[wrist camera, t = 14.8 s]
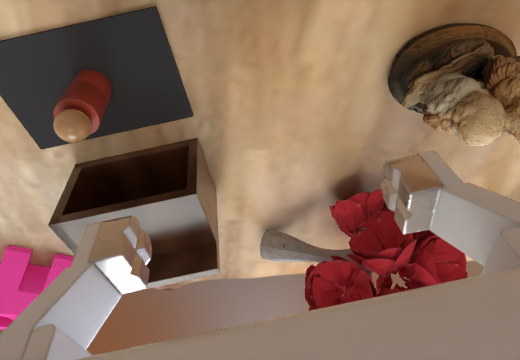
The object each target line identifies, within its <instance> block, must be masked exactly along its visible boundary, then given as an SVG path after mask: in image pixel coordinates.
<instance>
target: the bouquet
mask: <svg viewBox="0 0 520 360" xmlns="http://www.w3.org/2000/svg"><path fill="white" fill-rule="evenodd" d="M330 210H331V214H332V216H333V217H334V218H335V220H336V222H337V224H338V226H339V228H340V229H341V231H343V232H344V233H345V234H347V235H348V236H349V237H351V239H350V242H349V245H350V248H351V249H346V250H329V249H323V248H318V247H315V246H312V245H310V244H307V243H305V242H303V241H301V240H299V239H297V238H294V237H292V236H290V235H287V234H285V233H282V232H279V231H274V230H267V231H266V232H265V233H264V235H263V238H262V241H261V245H260V254H261V257H262V258H263V259H267V260H271V261H276V262H317V263H319V264H318V265H317V266H316V267H315V266H313V265H311V266H310V267H309V268H308V269H307V271H306V278H305V299H306V301H307V302H308V304H309V306H310V308H309V311H311V310H316V309H320V308H325V307H330V306H335V305H340V304H344V303H349V302H354V301H359V300H364V299H369V298H373V297H378V296H383V295H388V294H393V293H397V292H402V291H407V290H412V289H417V288H421V287H426V286H431V285H436V284H441V283H446V282H450V281H455V280H460V279H465V278H467V272H466V271H465V270H466V258H465V254H464V253H463V252H461V251H460V250H458V249H457V248H455V247H454V246H452V245H451V244H449V243H448V242H446V241H445V240H443V239H442V238H440V237H439V236H437V235H436V234H434V233H433V232H431V231H430V230H425V231H420V232H414V233H409V234H403V233H402V231H401V230H400V228H399V226H398V225H397V223H396V221H395V219H394V216H395V212H394V211H392V210H390V209H388V207H387V205H386V204H385V201H384V199H383V195H382V189H380V190H376V191H374V192H372V193H369V192H363V193H358V194H356V195H354V196H352V197H350V198H349V199H347V200H343V201H340V200H338V201H336V203H335V206H334V205H333V207H332V206H330ZM350 233H351V234H352V235H351V234H350ZM371 272H375V273H377V274H378V275H380V276H379V278H378V279H377V281H376V282H377V293H378V291H379V293H378V294H377V293H376V288H374V283H373V282H372V275H371ZM397 272H398V273H399V275H400V277H401V278H402V277H406V278H407V279H409V280H411V281H409V280H407V279H404V278H402V279H403V280H404V281H405V282H406V283H405V285H406V286H407V287H408V288H407V289H405V288H403V287H401V288H400V287H399V285H398V284H396V285H395V288H394V289H391V290H390V288H391V285H392V279H391V275H390V274H391V273H393V274H396V273H397ZM383 279H384V281H383ZM379 289H380V290H379Z"/></svg>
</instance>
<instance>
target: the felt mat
mask: <svg viewBox="0 0 520 360" xmlns="http://www.w3.org/2000/svg"><path fill="white" fill-rule="evenodd" d="M82 70H95V71H98V72H100V73H102V74H103V75H105V76H106V77H107V78H108V79H109V81H110V82H111V84H112V87H113V94H112V97H111V99H110V102H109V104H108V106H107V109H106V111H105V113H104V116H103V118H102V121H101V123H100V125H99V127H98V129H97V130H96V131H95V132H94V133H92V134H90V135H89V136H88V137H87V138H86V139H84V140H87V139H91V138H96V137H101V136H105V135H110V134H114V133H119V132H124V131H128V130H133V129H137V128H142V127H146V126H151V125H156V124H160V123H165V122H169V121H174V120H179V119H183V118H188V117H192V116H193V112H192V109H191V106H190V104H189V101H188V98H187V95H186V92H185V89H184V86H183V83H182V80H181V78H180V75H179V72H178V69H177V66H176V63H175V60H174V57H173V54H172V52H171V49H170V46H169V43H168V40H167V37H166V34H165V31H164V28H163V26H162V23H161V20H160V17H159V14H158V11H157V8H156V7H151V8H146V9H142V10H137V11H133V12H128V13H124V14H119V15H115V16H111V17H106V18H102V19H97V20H93V21H88V22H84V23H79V24H75V25H70V26H66V27H61V28H57V29H52V30H48V31H43V32H39V33H34V34H30V35H25V36H21V37H16V38H12V39H7V40H3V41H0V95H1V97H2V98H3V99H4V101H5V102H6V103H7V105H8V106H9V107H10V109H11V110H12V111H13V113H14V114H15V115H16V117H17V118H18V119H19V121H20V122H21V123H22V125H23V126H24V127H25V129H26V130H27V131H28V133H29V134H30V135H31V137H32V138H33V139H34V141H35V142H36V143H37V144H38V146H39V147H40V148H41V149H45V148H50V147H55V146H59V145H64V144H68V143H73V142H67V141H65V140H63V139H61V138H60V137H59V136H58V135H57V134H56V132H55V130H54V126H53V123H54V119H55V118H54V114H53V111H54V107H55V106H56V104H57V103H58V101H59V99H60V98H61V96H62V95H63V93H64V92H65V90H66V89H67V87H68V86H69V84H70V83H71V81H72V80H73V78H74V77H75V75H76V74H77V73H78V72H80V71H82Z"/></svg>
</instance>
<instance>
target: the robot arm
mask: <svg viewBox="0 0 520 360" xmlns="http://www.w3.org/2000/svg"><path fill="white" fill-rule="evenodd" d="M383 172H384V174H385V175H386V177H385V178H384V179H383V180H382V187H381V189H382V195H383V199H384V201H385V204H386V205H387V207H388V209H390V210H392V211H394V212H395V216H394V219H395V221H396V223H397V225H398V226H399V228H400V230H401V231H402V233H403V234H409V233H414V232H420V231H425V230H430V231H431V232H433V233H434V234H436V235H437V236H439V237H440V238H442V239H443V240H445V241H446V242H448V243H449V244H451V245H452V246H454V247H455V248H457V249H458V250H460V251H461V252H463V253H465V254H466V255H468V256H469V257H471V258H472V259H474V260H475V261H477V262H478V263H480V264H481V265H483V266H484V268H483V270H482V272H481V274H480V275H479V276H475V277H470V278H465V279H460V280H455V281H450V282H446V283H441V284H436V285H431V286H426V287H421V288H417V289H412V290H407V291H402V292H397V293H393V294H388V295H383V296H378V297H373V298H369V299H364V300H359V301H354V302H349V303H344V304H340V305H335V306H330V307H325V308H320V309H316V310H311V311H306V312H301V313H296V314H292V315H287V316H282V317H277V318H272V319H268V320H263V321H258V322H253V323H248V324H244V325H239V326H234V327H229V328H224V329H219V330H214V331H210V332H205V333H200V334H195V335H190V336H186V337H181V338H176V339H171V340H166V341H161V342H157V343H152V344H147V345H142V346H137V347H132V348H128V349H123V350H118V351H113V352H108V353H104V354H99V355H94V356H93V355H92V354H91V353H89V352H88V351H87V350H86V349H87V347H88V346H89V345H90V343H91V341H92V340H93V338H94V337H95V335H96V333H97V332H98V331H99V329H100V328H101V326H102V325H103V323H104V322H105V320H106V319H107V317H108V316H109V314H110V312H111V311H112V310H113V308H114V307H115V305H116V304H117V302H118V301H119V299H120V298H121V294H125V293H129V292H134V291H138V290H142V289H146V288H147V285H148V278H149V271H150V270H149V269H148V267H147V266H146V265H147V263H148V262H149V261H150V260H151V256H152V246H151V241H150V238H149V236H148V234H147V232H146V231H144V230H142V229H140V221H139V220H138V218H137V217H136V216H128V217H122V218H117V219H112V220H107V221H103V222H98V223H93V224H88V225H87V226H86V227H85V228H84V231H83V233H82V236H81V239H80V242H79V245H78V248H77V250H76V253H75V256H74V259H73V262H72V265H71V267H68V268H66V269H65V270H64V271H63V272H62V273H61V274H60V275H59V276H58V277H57V278H56V279H55V280H54V281H53V282H52V283H51V284H50V285H49V286H48V287H47V288H46V289H45V290H44V291H43V292H42V293H41V294H40V295H39V296H38V297H37V298H36V299H35V300H34V301H33V302H32V303H31V304H30V305H29V306H28V307H27V308H26V309H25V310H24V311H23V312H22V313H21V314H20V315H19V316H18V317H17V318H16V319H15V320H14V321H13V322H12V323H11V324H10V325H9V326H8V327H7V328H6V329H5V330H4V331H3V332H2V333H1V335H0V360H520V203H519V202H516V201H514V200H511V199H509V198H506V197H504V196H501V195H499V194H496V193H494V192H491V191H489V190H486V189H484V188H481V187H479V186H476V185H474V184H471V183H463V182H462V181H461V180H460V178H459V177H458V176H457V175H456V174H455V173H454V172H453V171H452V169H451V168H450V167H449V166H448V165H447V164H446V163H445V162H444V161H443V159H442V158H441V157H440V156H439V155H438V154H437V153H436V152H435V151H429V152H424V153H420V154H416V155H412V156H407V157H403V158H398V159H394V160H389V161H385V163H384V165H383Z"/></svg>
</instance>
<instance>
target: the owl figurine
mask: <svg viewBox="0 0 520 360" xmlns="http://www.w3.org/2000/svg"><path fill="white" fill-rule="evenodd" d="M486 62H487V64H486V65H485V66H484V68H483V70H482V72H481V74H482V76H483V77H485V78H483V77H482V78H483V79H474V78H473V79H472V78H471V77H473V76H474V75H475V74H476V71H475V70H477V69H478V68H480V67H481V66H482V65H484V64H485V63H486ZM477 72H478V71H477ZM388 85H389V88H390V92H391V93H392V95H393V97H394V98H395V99H396V100H397V101H398V102H399V103H400V104H401V105H403V107H406V108H407V109H409V110H415V111H416V112H418V113H422V114H424V117H423V120H424V122H425V123H426V124H428V125H430V126H431V127H433V128H434V130H436V131H438V132H440V131H443V132H445V133H450V134H451V135H455V134H458V135H459V137H460V138H461V140H462V142H463V143H464V144H467V146H486V145H487V144H490V143H491V142H493V140H494V139H495V138H498V137H499V136H501V135H502V134H503V133H507V134H508V135H511V136H513V137H514V138H515V139H517V141H518V142H520V56H516V49H515V46H514V44H513V43H512V41H511V40H510V39H509V38H508V37H507V36H506V35H505V34H503V33H501V32H500V31H498V30H496V29H494V28H492V27H488V26H484V25H478V24H452V25H447V26H443V27H440V28H437V29H434V30H431V31H429V32H427V33H425V34H423V35H420V36H419V37H417V38H415V39H414V40H412V41H411V42H409V43H408V45H406V46H405V48H404V49H403V50H402V51H401V52H400V53H399V54H398V55H397V58H396V59H395V62H394V63H393V66H392V69H391V71H390V76H389V78H388Z"/></svg>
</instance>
